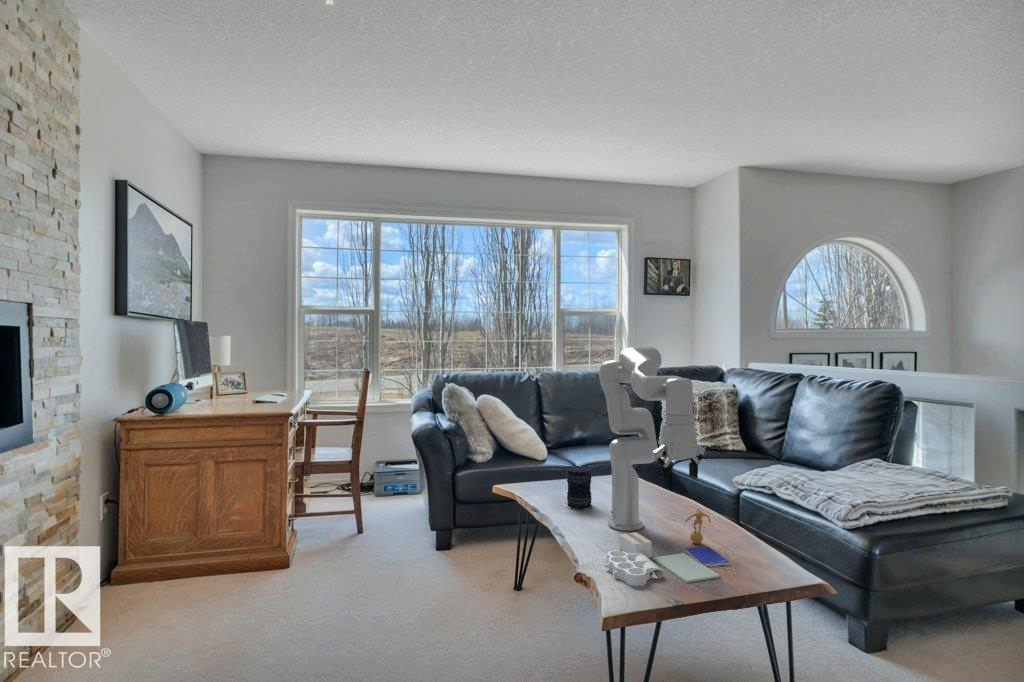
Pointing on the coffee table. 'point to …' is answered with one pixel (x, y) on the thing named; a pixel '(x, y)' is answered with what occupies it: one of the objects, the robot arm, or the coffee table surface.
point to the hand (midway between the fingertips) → (679, 478)
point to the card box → (635, 544)
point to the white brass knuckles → (632, 567)
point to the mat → (686, 567)
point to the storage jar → (579, 487)
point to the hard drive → (707, 556)
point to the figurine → (696, 535)
